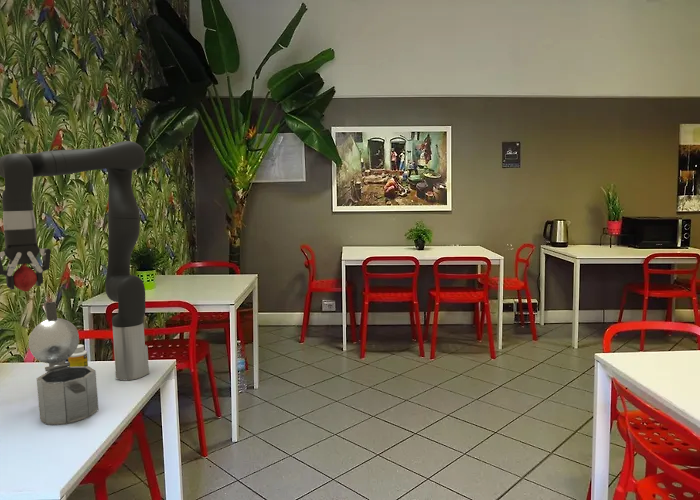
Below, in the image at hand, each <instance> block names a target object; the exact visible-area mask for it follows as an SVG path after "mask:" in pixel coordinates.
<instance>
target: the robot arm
mask: <svg viewBox="0 0 700 500" xmlns="http://www.w3.org/2000/svg"><path fill="white" fill-rule="evenodd" d="M145 161H146V153H145V150H144V148H143V147H142V145H140V144H138V142H134V141H130V140H124V141H119V142H114V143H112V144H111V145H109V146H104V147H97V148H80V149H79V148H78V149H77V148H75V149H59V150H58V149H57V150H46V151H40V152H36V153H15V152H14V153H9V154H5V155H3V156H1V157H0V177H1V178H3V179H4V190H3V191H2V193H1V194H2V195H1V203H2V211H3V212H2V225H3V233H4V234H3V236H4V244H5V245H4V246H5V248H4V250H3V251H0V275H1V276H5V282H6V287H7V288H9V290H12V291H13V290H15V285H14V278H13V274H14V272H15V271H14V270H15V269H16V268H17V266H18V265H22V264H23V263H26V264H28V265H29V264H30V265H31V267H32V268H33V269H34V272H35V273H36V275H37V281H36V284H35V286H36V287H41V286H42V284H44V278H43V277H44V276H43V275H44V274H43V273H44V272H45V271H47V270H50V266H51V255H52V254H51V248H46V247H45V248H40V247H39V246H38V245H39V244H38V236H37V222H36V217H35V212H34V205H33V196H32V194H33V193H32V192H33V185H34V183H33V182H34V178H35V177H36V178H37V177H38V178H39V177H54V176H55V177H56V176H64V175H70V174H71V175H72V174H77V173H79V174H80V173H82V172H83V173H84V172H90V171H96V170H106V169H107V171H106V172H107V179H108V211H107V215H108V216H107V226H108V227H107V228H108V229H107V232H108V234H107V235H108V238H107V239H108V243H107V245H108V246H107V248H108V249H107V251H108V253H107V254H108V255H107V257H108V258H107V268H106V275H105V276H106V277H105V286H104V287H105V293H106V296H107V298H108V299H109V300H110V301H112V302H115V303H117V305H118V306H117V309H118V311H117V314H115V315H113V316H112V321H111V322H112V323H111V325H112V337H113V339H112V340H113V353H114V366H115V371H114V372H115V378H116V380H119V381H131V380H136V379H140V378H143V377H145V376H146V375H149V374H150V367H149V365H150V364H149V353H148V352H149V350H148V348H149V347H148V345H147V344H145V342H146V341H145V328H144V327H145V326H144V317H145V315H146V288H145V284H144V281H143V280H142V279H141V278H140V277H139V276H137V275H132V274H131V257H132V253H133V250H134V248H135V246H136V244H137V242H138V240H139V236H140V232H141V231H140V229H141V228H140V221H141V220H140V217H141V216H140V210H139V206H138V203H137V200H136V198H135V194H134V190H133V183H132V181H133V171H135V170H138V169H140V168H141V167H142V166H143V165H144V163H145ZM39 253H40V255H41V256H42V263H41V265H40V263H39V262H38V260H37V259H36V258H37V256H38V255H39ZM4 257H6V258H7V259H8V260H9V262H8V264H7V265H6V266H7V267H6V270H4V266H3V262H2V261H3V260H4Z"/></svg>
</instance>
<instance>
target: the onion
mask: <svg viewBox="0 0 700 500" xmlns="http://www.w3.org/2000/svg"><path fill="white" fill-rule="evenodd" d="M12 276H13V278H14V287H15V288H16V289H19V290H20V291H22V292H27V293H28V292H29V291H30V290H31V289H32V288H33V287H34V286H36V281H37V275H36V271H35V270H33V269H32V268H31V267H29V266H27V264H26V263H23V264H20V266H19V267H18V268H17V269H16V270H15V271H13V274H12Z"/></svg>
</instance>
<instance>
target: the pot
mask: <svg viewBox="0 0 700 500" xmlns="http://www.w3.org/2000/svg"><path fill="white" fill-rule="evenodd" d="M36 388H37V397H38V398H37V401H38V410H39V412H38V413H39V420H40V422H41V423H43V424H45V425H47V426H49V425H50V426H61V425H69V424H74V423H77V422H80V421H84V420H86V419H89V418H91V417H92V416H94V415H95V414H96V413H97V412H98V410H99V400H98V399H99V397H98V387H97V372H96V370H95V369H93V368H92V367H90V366H89V365H88V366H75V367H69V366H68V367H64V368H59V369H55V370H51V371H45V373H43V374H41V375H40V376H38V377H36Z"/></svg>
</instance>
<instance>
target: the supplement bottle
mask: <svg viewBox="0 0 700 500" xmlns="http://www.w3.org/2000/svg"><path fill="white" fill-rule="evenodd" d="M88 360H89V359H88V351H87V350H85V345H84V344H78V346H77V349H76V350H75V352H74V353H73V354H72V355H71V356H70V357H69V358H68V359H67V362H70V366H68V367H75V366H89V362H88Z"/></svg>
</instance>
